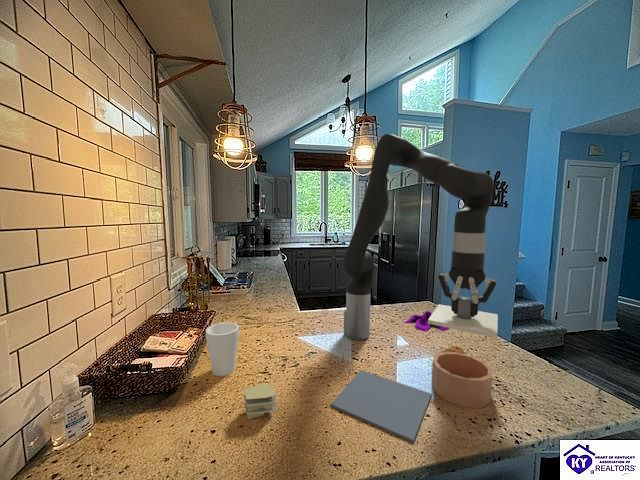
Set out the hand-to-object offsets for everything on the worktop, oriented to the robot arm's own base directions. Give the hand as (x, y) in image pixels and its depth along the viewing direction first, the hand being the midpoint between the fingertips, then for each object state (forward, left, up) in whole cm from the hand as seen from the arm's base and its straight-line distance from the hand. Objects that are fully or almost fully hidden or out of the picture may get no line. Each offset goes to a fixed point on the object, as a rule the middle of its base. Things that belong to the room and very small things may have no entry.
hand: (464, 314), depth 73 cm
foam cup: (-61, -29, -21) cm, 71 cm away
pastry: (-4, +16, -21) cm, 27 cm away
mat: (-16, -16, -21) cm, 31 cm away
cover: (0, 0, -2) cm, 2 cm away
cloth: (-19, +44, -22) cm, 53 cm away
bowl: (0, 0, -21) cm, 21 cm away
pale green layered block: (-39, -36, -22) cm, 57 cm away
